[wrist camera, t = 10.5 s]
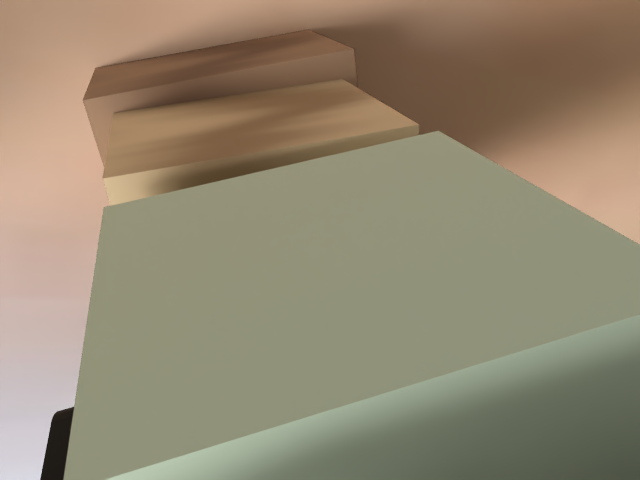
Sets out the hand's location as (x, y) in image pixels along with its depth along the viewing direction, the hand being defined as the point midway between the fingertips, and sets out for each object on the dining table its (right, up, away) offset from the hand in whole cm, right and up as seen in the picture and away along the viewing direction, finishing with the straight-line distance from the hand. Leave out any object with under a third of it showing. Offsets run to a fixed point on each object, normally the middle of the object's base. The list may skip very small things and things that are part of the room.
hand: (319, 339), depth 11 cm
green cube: (0, 0, +1) cm, 1 cm away
